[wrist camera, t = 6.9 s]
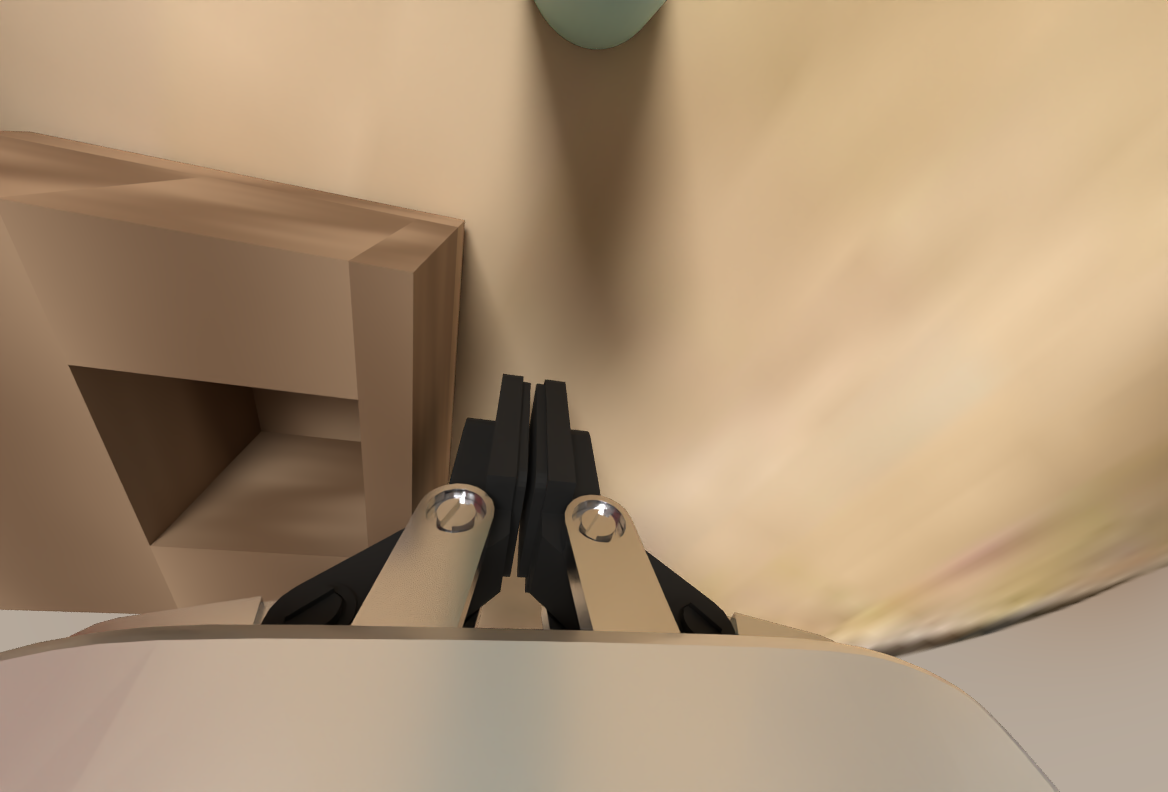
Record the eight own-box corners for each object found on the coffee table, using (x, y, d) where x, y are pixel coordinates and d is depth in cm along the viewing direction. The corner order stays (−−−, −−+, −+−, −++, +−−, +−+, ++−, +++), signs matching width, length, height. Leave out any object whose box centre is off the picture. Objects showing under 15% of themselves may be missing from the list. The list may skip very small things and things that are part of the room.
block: (464, 220, 10) (413, 272, 6) (447, 485, 15) (411, 622, 11) (29, 131, 9) (-444, 121, 5) (155, 459, 13) (-28, 608, 9)
